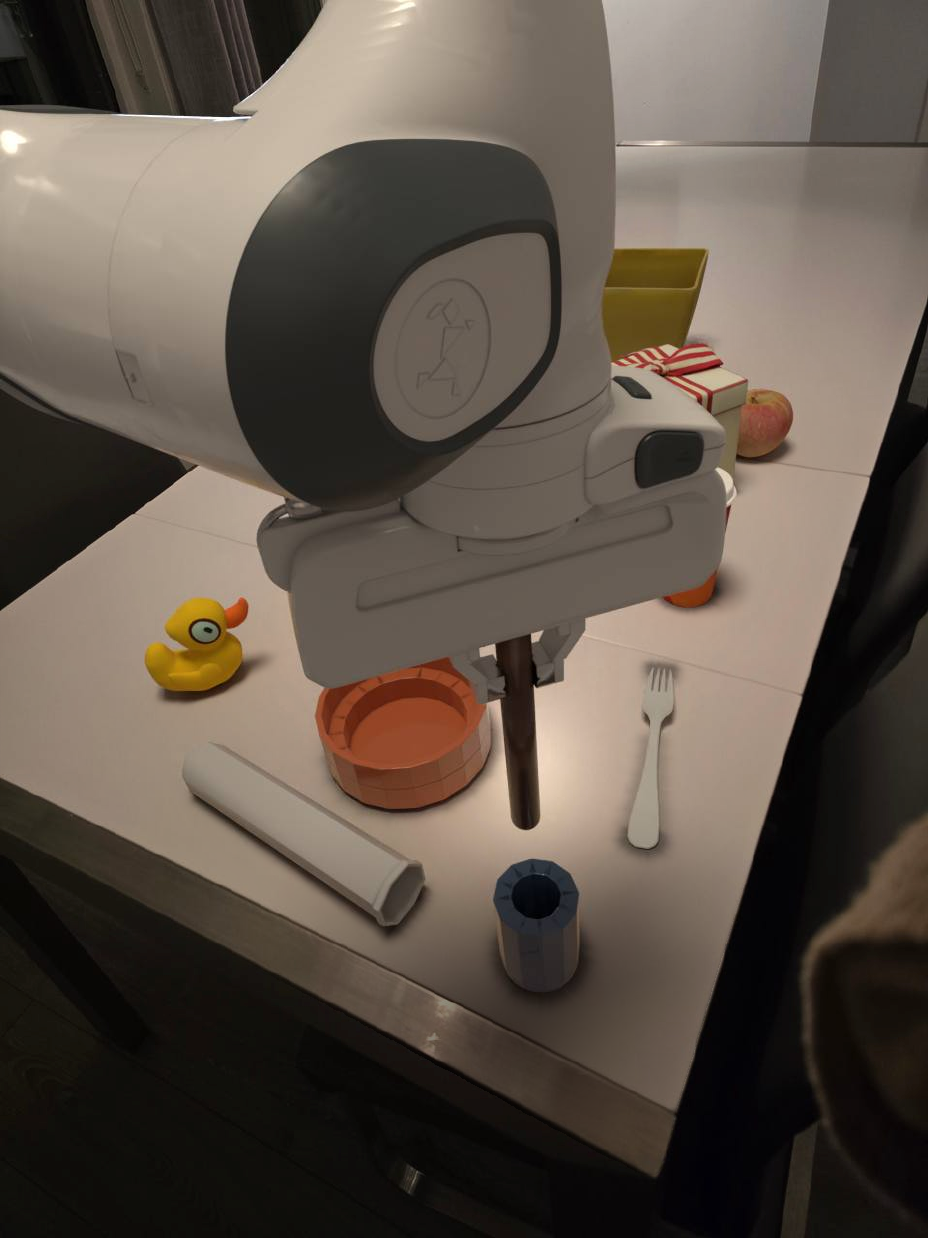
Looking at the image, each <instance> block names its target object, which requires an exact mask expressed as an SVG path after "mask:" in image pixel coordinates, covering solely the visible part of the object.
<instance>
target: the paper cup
mask: <svg viewBox="0 0 928 1238" xmlns="http://www.w3.org/2000/svg"><path fill="white" fill-rule="evenodd" d="M715 470H716V471H717V472H718V473H719V474H720V476H721V477H722V479H723V481H724V484H725V488H726V499H727V510H726V529H725V534H726V532H727V527H728V522H729V518H730V513H731V509H732V504H734V502H735V501H736V499H737V494H738V493H737V488H736V487H735V485H734V478H733V479H732V478H731V476H730V475H729V474H728V473H727V472H726V471H724V470H722V469H720V468H718V467H717V469H715ZM718 569H719V567H718V568H717V570H716V571H715V572H714V573H713V574H712V576H711V577H710V578H709V579H708V580H707V581H706V582H705V583H704V584H703V585H702V586H700V587H697V588H694V589H691V590H687V591H683V592H679V593H676V594H672V595H668V596H665V597H662V598H663V599H664V600H665V601H666V602H668V603H669V604H672V605H674V606H677V607H683V608H694V607H699V606H702V605H704V604H706V603H707V602H708V601H709V600H710V599H711V597H712V595H713V592H714V587H715V583H716V579H717V574H718Z"/></svg>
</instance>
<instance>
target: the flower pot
mask: <svg viewBox="0 0 928 1238" xmlns="http://www.w3.org/2000/svg"><path fill="white" fill-rule="evenodd" d="M709 253H710V250H709V249H707V248H704V247H630V248H629V247H627V248H626V247H622V248H619V247H618V248H617V247H616V248H615V247H614V255H613V260H612V264H611V267H610V270H609V274H608V277H607V280H606V284H605V288H604V292H603V299H602V319H603V328H604V332H605V336H606V339H607V342H608V346H609V350H610V354H611V363H612V362H614V361H618V360H621V359H624V357H622V356H621V355H625V354H631V353H633V352H636V351H639V350H643V349H647V348H651V347H660V346H663V345H666V344H669V345H671V346H674V347H676V348H678V349H680V348H682V347H684V346H685V344H686V341H687V337H688V335H689V332H690V331H689V330H690V328H691V325H692V323H693V319H694V317H695V316H694V315H695V312H696V308H697V306H698V301H699V298H700V294H701V290H702V286H703V281H704V277H705V273H706V270H707V269H706V268H707V265H708V264H707V263H708V259H709Z"/></svg>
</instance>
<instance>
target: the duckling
mask: <svg viewBox="0 0 928 1238" xmlns="http://www.w3.org/2000/svg"><path fill="white" fill-rule="evenodd" d="M248 614H249V603H248V600H247V599H246V598H244V597H239V598H238V600H237V602H236V603H235V604H234V605H232V606H230V607H227V608H226V609H224V607H223V605H222V604H221V603H220V602H219V601H217V600H215V599H212V598H209V597H193V598H191V599H189V600H186V601H185V602H183V603H182V604H181V605H180V606H179V607H178V608H177V609H176V610H175V611H174V613H173V614H172V615H171V616H170V618H168V619H167V621H166V622H165V624H164V630H165V632H166V634H167V635H168V637H169V638H170V639H172V640H173V641H175V642H177V643H178V644H180V645H181V646H182V647H183V648H184V649H171V648H170V647H169V646H167V645H166V644H164V643H163V642H160V641H155V642H153V643H151V644H149V645H148V647H147V648H146V650H145V653H144V664H145V668H146V670H147V672H148V673H149V675H150V677H151V678H152V679H153V681H154V682H155V683H156V684H157V685H158V686H159V687H161V688H162V689H166V690H169V691H173V692H190V691H192V692H203V691H207V690H210V689H212V688H214V687H216V686H218V685H220V684H221V685H222V684H223V683H225V682H227V681H228V680H229V679H231V677H232V676H234V674H235V673H236V671H237V670H238V668H239V667H240V665H241V663H242V661H243V656H244V655H243V653H244V652H243V645H242V643H241V641H240V640H239V638H238V637H236V635H234V634H233V633H231V632H229V631H227V630H231V629H235V628H237V627H239V626H240V625H242V624H243V623H244V622H245V621H246V620H247V617H248Z"/></svg>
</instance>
